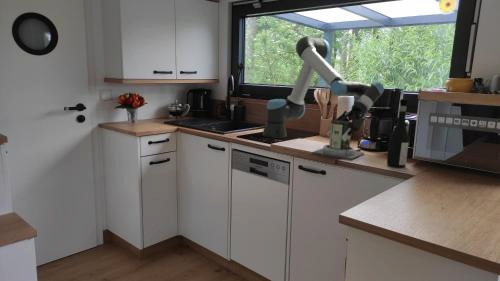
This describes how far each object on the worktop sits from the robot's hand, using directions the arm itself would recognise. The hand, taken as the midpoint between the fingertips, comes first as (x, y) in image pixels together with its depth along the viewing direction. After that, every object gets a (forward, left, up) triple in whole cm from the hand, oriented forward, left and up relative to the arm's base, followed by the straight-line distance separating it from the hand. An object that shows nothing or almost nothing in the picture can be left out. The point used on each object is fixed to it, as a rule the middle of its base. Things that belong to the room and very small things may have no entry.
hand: (335, 137), depth 181 cm
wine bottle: (+3, +30, -9) cm, 32 cm away
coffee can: (-3, +1, -6) cm, 7 cm away
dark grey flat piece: (-3, +1, -9) cm, 9 cm away
